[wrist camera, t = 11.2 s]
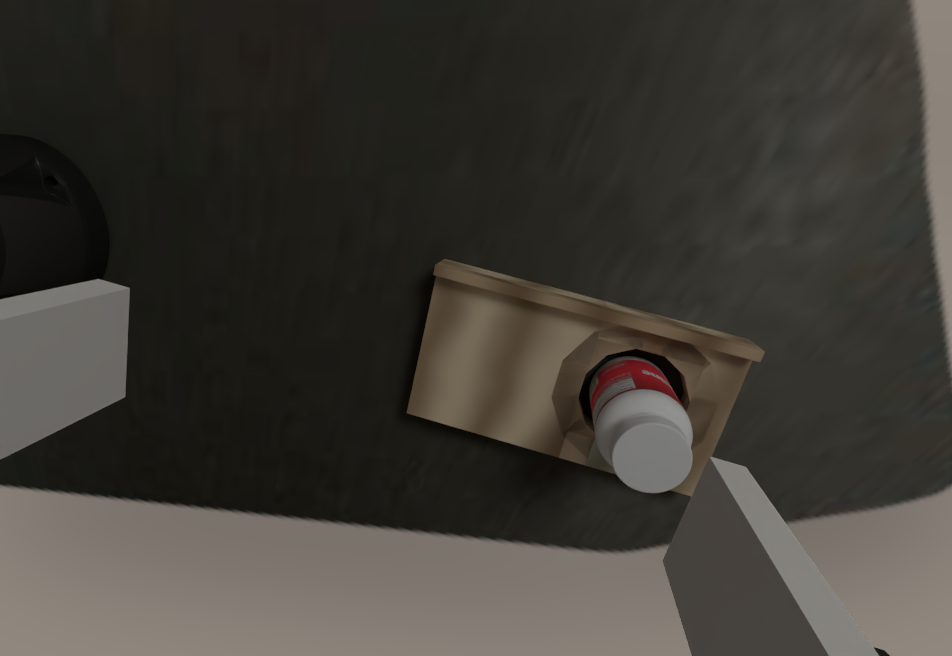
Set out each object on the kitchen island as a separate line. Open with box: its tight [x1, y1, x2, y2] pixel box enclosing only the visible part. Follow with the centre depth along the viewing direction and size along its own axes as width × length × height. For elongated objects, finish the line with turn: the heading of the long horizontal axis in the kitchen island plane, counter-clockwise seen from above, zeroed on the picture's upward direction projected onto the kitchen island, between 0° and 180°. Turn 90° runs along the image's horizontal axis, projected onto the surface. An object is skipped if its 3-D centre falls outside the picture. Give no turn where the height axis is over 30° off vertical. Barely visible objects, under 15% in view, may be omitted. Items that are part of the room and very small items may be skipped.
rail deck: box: [407, 259, 765, 497], centre depth 39 cm, size 24×13×3 cm, turn 77°
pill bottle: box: [589, 356, 693, 493], centre depth 35 cm, size 6×6×11 cm
